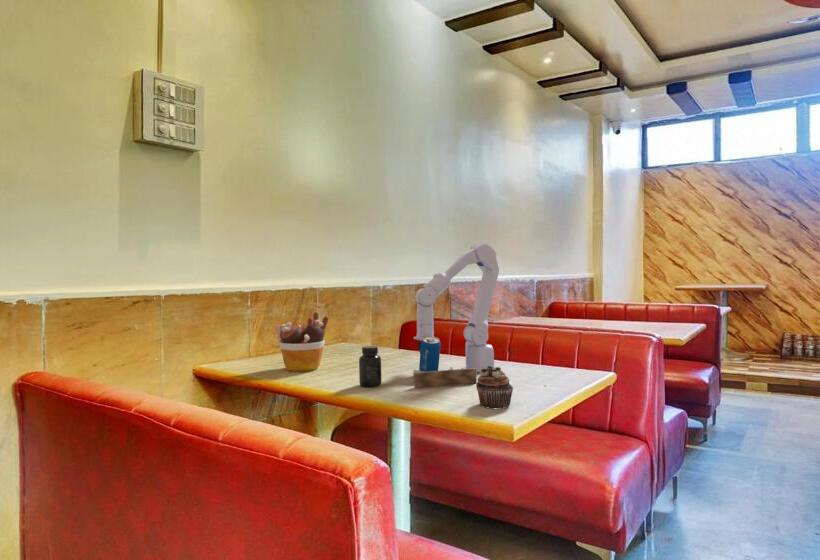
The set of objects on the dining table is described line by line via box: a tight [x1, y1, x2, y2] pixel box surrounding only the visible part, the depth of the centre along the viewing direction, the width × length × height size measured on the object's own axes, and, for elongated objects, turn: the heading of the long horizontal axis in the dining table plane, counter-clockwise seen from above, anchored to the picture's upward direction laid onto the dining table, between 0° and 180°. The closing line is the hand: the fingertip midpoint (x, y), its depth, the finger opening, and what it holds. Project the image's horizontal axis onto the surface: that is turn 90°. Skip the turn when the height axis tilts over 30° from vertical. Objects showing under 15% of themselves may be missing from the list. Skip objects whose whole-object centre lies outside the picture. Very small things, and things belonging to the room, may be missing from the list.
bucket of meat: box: [274, 312, 329, 373], centre depth 198 cm, size 20×16×20 cm
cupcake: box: [475, 366, 514, 409], centre depth 144 cm, size 10×10×10 cm
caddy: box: [412, 366, 478, 389], centre depth 174 cm, size 20×13×4 cm, turn 107°
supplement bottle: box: [358, 345, 382, 389], centre depth 169 cm, size 7×7×12 cm
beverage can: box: [418, 336, 441, 372], centre depth 182 cm, size 6×6×12 cm
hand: (425, 363), depth 187 cm, fingers closed
